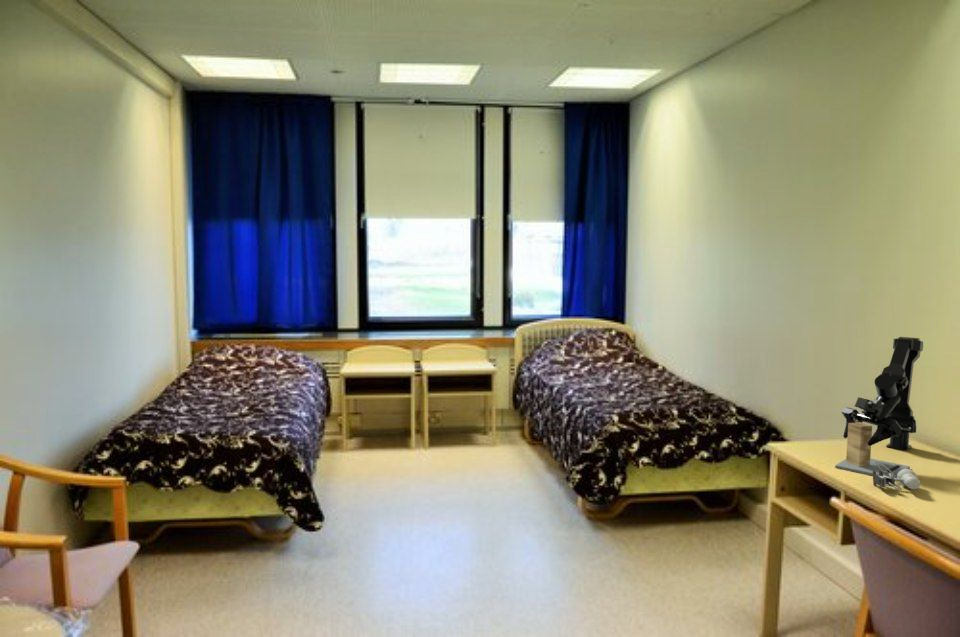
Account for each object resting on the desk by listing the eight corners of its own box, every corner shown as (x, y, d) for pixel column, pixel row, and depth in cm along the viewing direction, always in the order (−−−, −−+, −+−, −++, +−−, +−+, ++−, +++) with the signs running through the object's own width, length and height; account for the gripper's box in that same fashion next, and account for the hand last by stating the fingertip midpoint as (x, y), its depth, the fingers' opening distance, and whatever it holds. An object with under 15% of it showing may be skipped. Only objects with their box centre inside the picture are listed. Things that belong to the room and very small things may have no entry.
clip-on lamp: (866, 478, 218) (878, 492, 201) (865, 457, 218) (877, 470, 201) (909, 479, 214) (925, 493, 197) (908, 458, 214) (924, 471, 197)
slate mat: (852, 457, 235) (852, 454, 234) (909, 468, 222) (909, 466, 222) (835, 467, 223) (835, 465, 223) (894, 480, 211) (894, 478, 211)
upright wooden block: (857, 460, 228) (859, 422, 227) (869, 465, 224) (872, 425, 222) (846, 462, 227) (848, 423, 225) (858, 466, 222) (860, 426, 221)
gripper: (847, 383, 232) (820, 418, 230) (897, 394, 215) (869, 433, 212) (863, 404, 236) (837, 439, 233) (914, 417, 219) (886, 455, 216)
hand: (856, 441), depth 224 cm, fingers open, 9 cm apart
